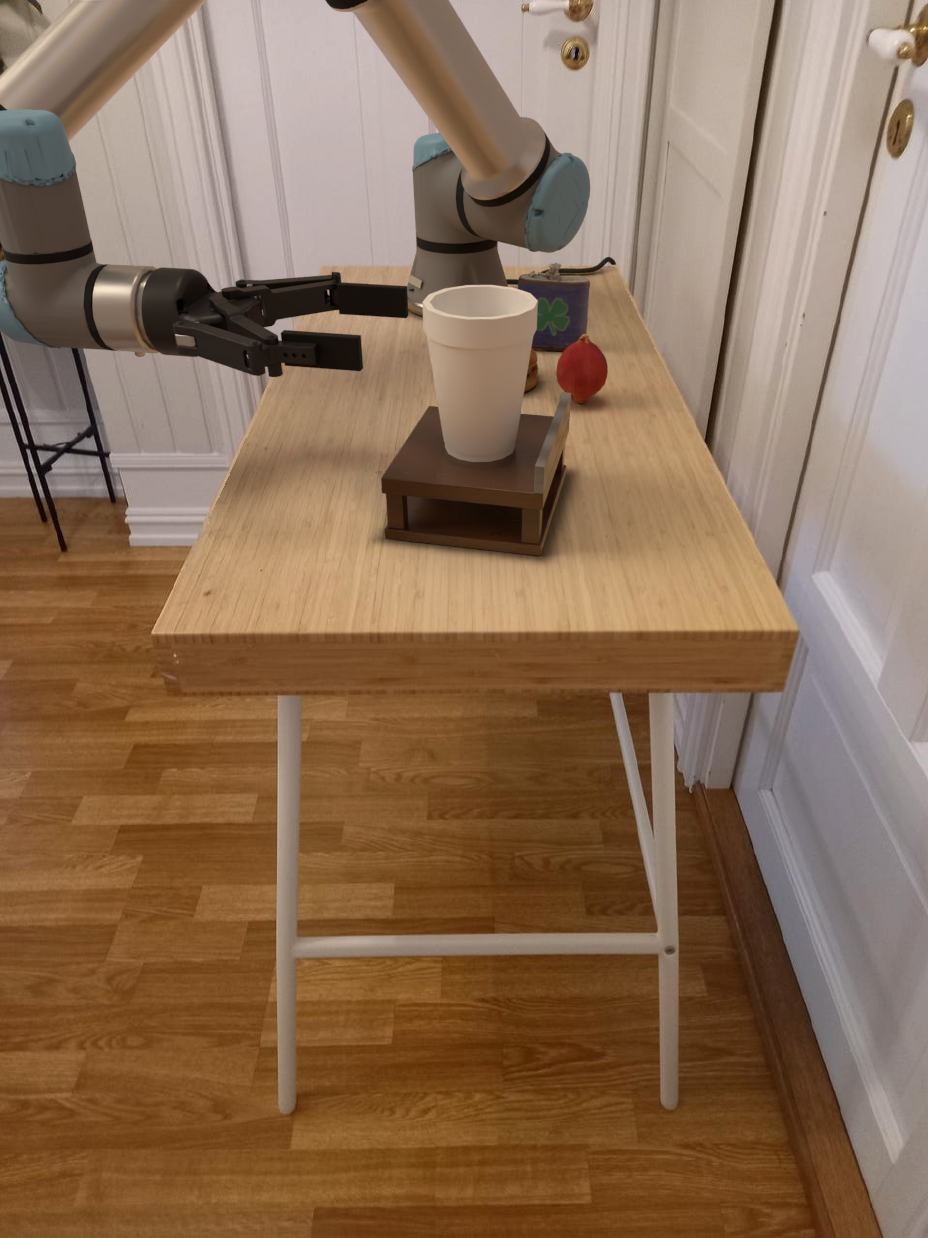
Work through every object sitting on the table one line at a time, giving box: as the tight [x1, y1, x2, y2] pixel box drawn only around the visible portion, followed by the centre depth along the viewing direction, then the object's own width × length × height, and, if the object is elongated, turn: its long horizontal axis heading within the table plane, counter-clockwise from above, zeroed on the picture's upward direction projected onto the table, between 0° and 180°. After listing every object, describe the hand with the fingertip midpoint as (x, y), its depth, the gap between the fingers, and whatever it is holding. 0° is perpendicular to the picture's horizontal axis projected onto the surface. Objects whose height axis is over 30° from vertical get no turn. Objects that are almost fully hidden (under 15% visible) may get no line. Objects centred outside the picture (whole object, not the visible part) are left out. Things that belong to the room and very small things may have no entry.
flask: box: [517, 262, 591, 352], centre depth 120 cm, size 9×3×11 cm, turn 77°
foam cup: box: [422, 285, 538, 462], centre depth 81 cm, size 10×9×13 cm
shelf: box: [380, 391, 572, 557], centre depth 86 cm, size 16×14×8 cm
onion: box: [555, 333, 609, 404], centre depth 105 cm, size 6×6×8 cm
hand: (385, 326), depth 80 cm, fingers open, 13 cm apart
